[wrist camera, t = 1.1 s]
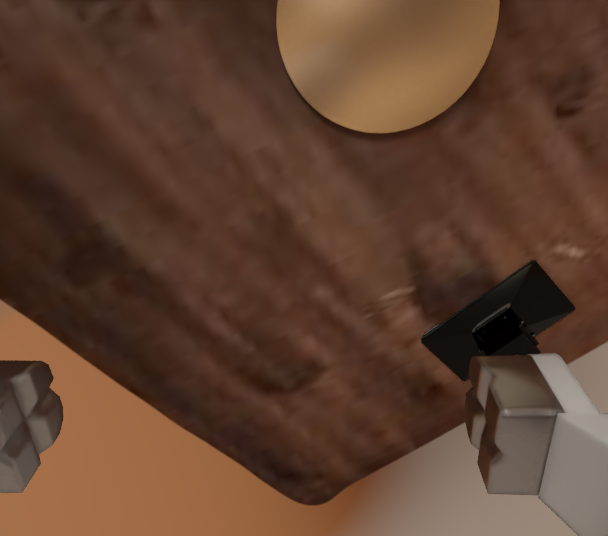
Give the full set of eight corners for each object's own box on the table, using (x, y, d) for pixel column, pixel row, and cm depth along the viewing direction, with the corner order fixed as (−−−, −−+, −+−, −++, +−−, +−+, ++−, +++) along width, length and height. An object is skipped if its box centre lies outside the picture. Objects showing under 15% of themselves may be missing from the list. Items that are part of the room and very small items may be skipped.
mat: (234, 48, 36) (233, 50, 35) (371, -177, 30) (372, -179, 30) (397, 169, 40) (398, 171, 40) (544, -6, 35) (547, -6, 34)
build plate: (463, 378, 51) (476, 413, 47) (417, 336, 49) (427, 369, 45) (575, 307, 47) (600, 338, 43) (532, 256, 44) (554, 285, 40)
